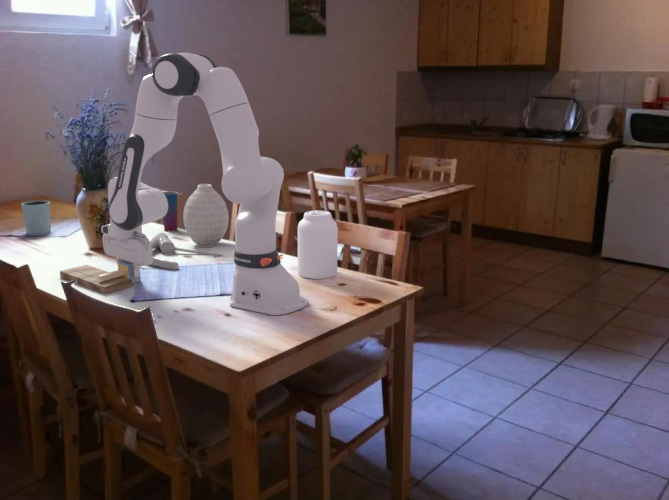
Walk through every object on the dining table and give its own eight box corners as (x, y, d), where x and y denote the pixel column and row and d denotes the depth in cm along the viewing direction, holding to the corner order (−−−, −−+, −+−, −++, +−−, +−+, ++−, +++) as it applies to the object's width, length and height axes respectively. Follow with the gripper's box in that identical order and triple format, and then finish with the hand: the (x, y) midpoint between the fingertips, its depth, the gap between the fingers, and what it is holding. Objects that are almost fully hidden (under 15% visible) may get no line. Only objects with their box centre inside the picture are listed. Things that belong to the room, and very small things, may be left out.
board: (132, 286, 189) (131, 279, 189) (104, 293, 182) (104, 287, 182) (87, 270, 204) (86, 264, 203) (60, 277, 197) (59, 270, 196)
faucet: (229, 257, 231) (200, 279, 205) (156, 244, 235) (118, 264, 209) (230, 244, 230) (201, 265, 204) (156, 231, 234) (119, 250, 207)
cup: (171, 227, 264) (169, 190, 260) (183, 229, 260) (181, 192, 256) (158, 230, 258) (156, 193, 254) (169, 232, 254) (167, 195, 251)
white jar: (291, 277, 200) (291, 214, 195) (306, 266, 212) (306, 206, 207) (328, 281, 196) (329, 217, 191) (342, 270, 208) (343, 210, 202)
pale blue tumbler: (26, 236, 245) (22, 205, 242) (23, 231, 253) (20, 201, 250) (54, 234, 250) (51, 203, 247) (51, 228, 258) (48, 199, 255)
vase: (220, 251, 228) (218, 189, 222) (177, 249, 231) (174, 187, 225) (235, 240, 244) (233, 182, 238) (194, 238, 246) (191, 180, 240)
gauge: (140, 281, 194) (139, 262, 193) (105, 290, 185) (103, 270, 184) (130, 277, 197) (129, 259, 196) (95, 287, 188) (93, 267, 187)
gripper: (156, 233, 186) (159, 278, 190) (116, 222, 199) (119, 265, 202) (138, 237, 182) (141, 283, 185) (97, 226, 194) (101, 270, 197)
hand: (129, 274), depth 194 cm, fingers closed on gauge, 5 cm apart
